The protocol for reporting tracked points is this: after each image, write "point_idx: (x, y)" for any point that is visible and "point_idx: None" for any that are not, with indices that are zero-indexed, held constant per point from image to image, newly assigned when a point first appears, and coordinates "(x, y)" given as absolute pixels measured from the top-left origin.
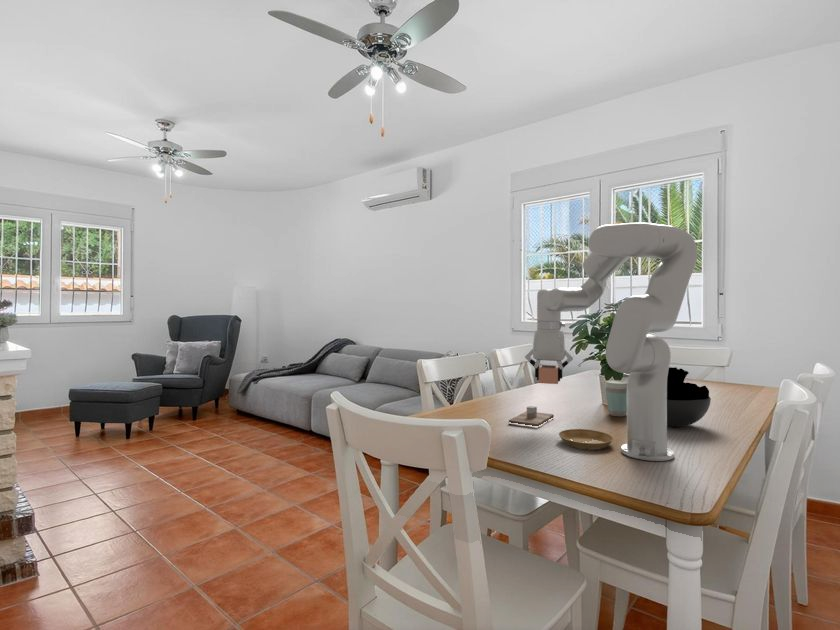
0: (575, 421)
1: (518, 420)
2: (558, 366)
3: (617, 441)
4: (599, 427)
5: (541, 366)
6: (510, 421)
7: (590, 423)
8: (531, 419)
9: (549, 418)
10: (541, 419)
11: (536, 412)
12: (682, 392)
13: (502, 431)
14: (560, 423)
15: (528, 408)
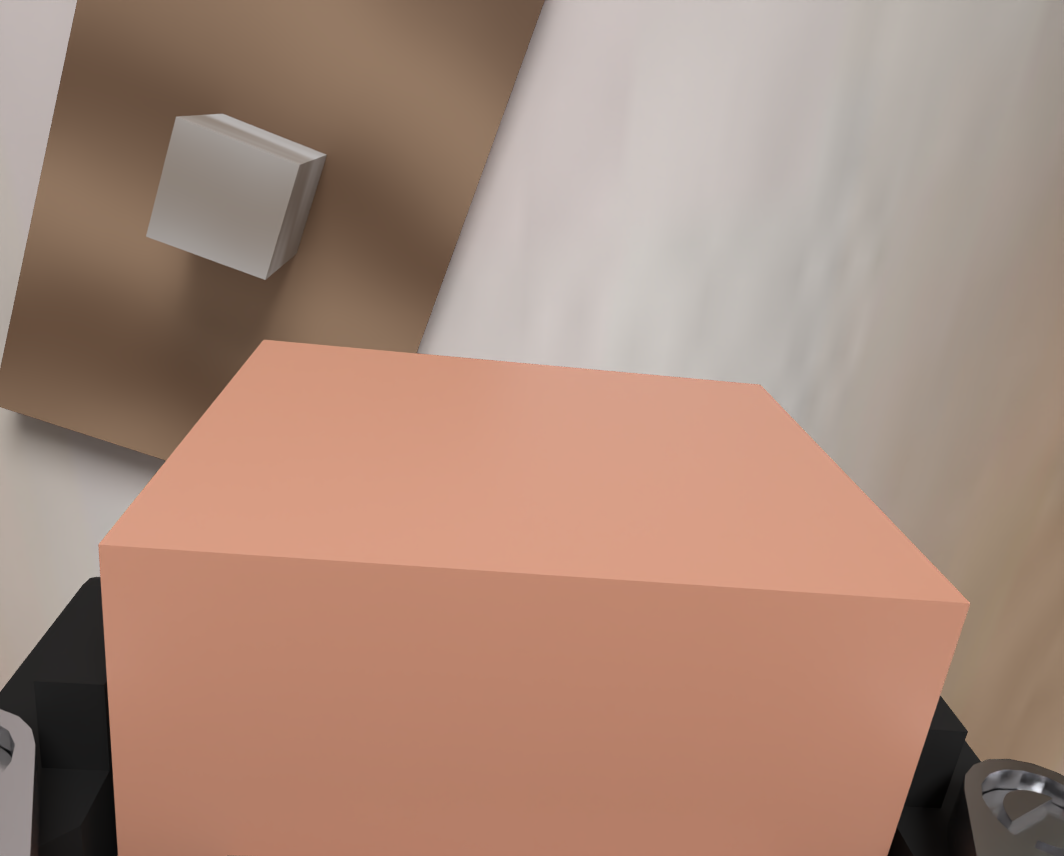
0: (830, 67)
1: (114, 401)
2: (957, 632)
3: (1015, 758)
4: (1029, 325)
5: (192, 787)
6: (21, 405)
7: (989, 147)
8: (268, 321)
9: (499, 122)
10: (393, 298)
11: (312, 170)
12: None
13: (22, 662)
14: (626, 214)
15: (180, 244)
